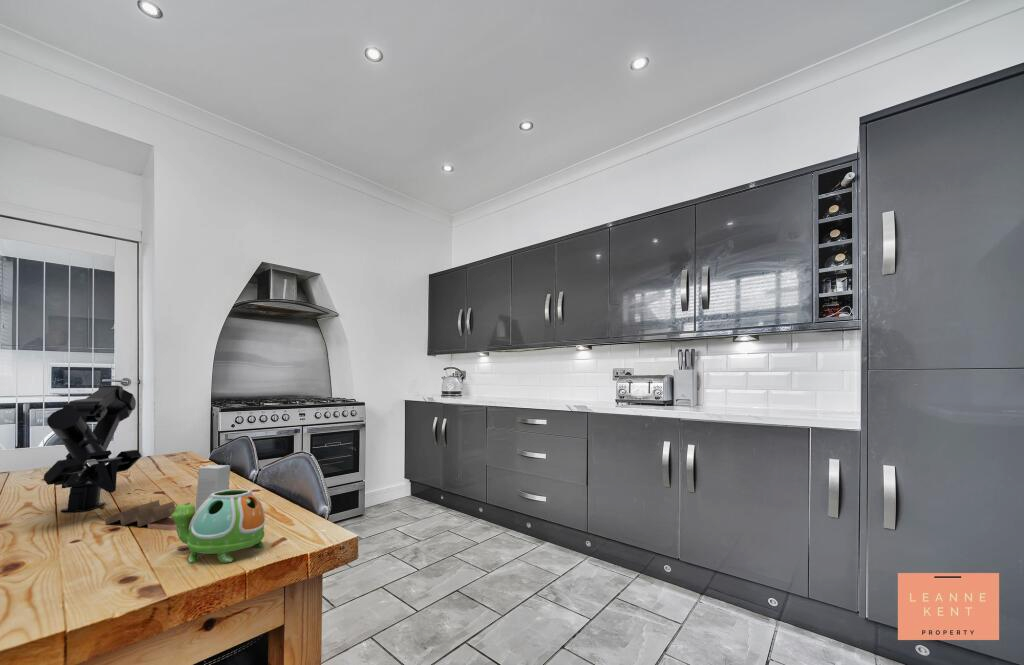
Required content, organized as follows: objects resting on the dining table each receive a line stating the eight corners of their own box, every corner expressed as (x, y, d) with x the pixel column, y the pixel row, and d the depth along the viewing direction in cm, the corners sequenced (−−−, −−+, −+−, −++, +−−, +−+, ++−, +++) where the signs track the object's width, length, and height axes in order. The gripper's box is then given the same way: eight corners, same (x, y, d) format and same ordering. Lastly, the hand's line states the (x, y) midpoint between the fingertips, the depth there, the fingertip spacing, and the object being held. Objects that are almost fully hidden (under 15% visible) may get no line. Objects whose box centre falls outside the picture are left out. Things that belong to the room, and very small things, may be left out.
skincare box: (228, 510, 116) (231, 465, 118) (215, 515, 112) (219, 468, 113) (207, 510, 117) (210, 464, 118) (194, 514, 113) (197, 467, 114)
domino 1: (104, 518, 105) (138, 505, 104) (126, 512, 110) (158, 500, 109) (106, 524, 105) (139, 512, 103) (127, 518, 110) (160, 506, 108)
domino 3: (136, 520, 103) (169, 508, 101) (158, 513, 108) (189, 502, 106) (138, 527, 103) (170, 515, 101) (159, 520, 108) (191, 509, 106)
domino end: (147, 523, 103) (184, 526, 101) (167, 517, 108) (202, 519, 106) (147, 530, 103) (183, 533, 101) (167, 523, 107) (202, 526, 106)
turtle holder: (196, 540, 95) (201, 484, 96) (276, 542, 94) (280, 485, 95) (145, 564, 82) (151, 499, 84) (237, 566, 81) (241, 501, 83)
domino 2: (120, 519, 104) (153, 507, 103) (141, 513, 109) (173, 501, 108) (121, 526, 104) (154, 513, 102) (142, 519, 109) (175, 507, 107)
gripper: (99, 459, 120) (128, 503, 117) (14, 472, 102) (45, 525, 99) (127, 432, 120) (157, 475, 117) (46, 440, 102) (79, 491, 99)
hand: (112, 491), depth 108 cm, fingers closed
